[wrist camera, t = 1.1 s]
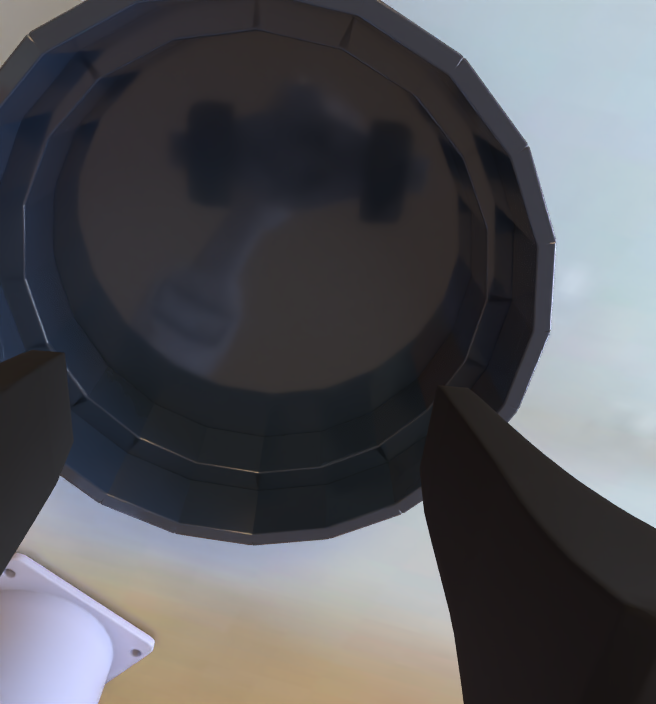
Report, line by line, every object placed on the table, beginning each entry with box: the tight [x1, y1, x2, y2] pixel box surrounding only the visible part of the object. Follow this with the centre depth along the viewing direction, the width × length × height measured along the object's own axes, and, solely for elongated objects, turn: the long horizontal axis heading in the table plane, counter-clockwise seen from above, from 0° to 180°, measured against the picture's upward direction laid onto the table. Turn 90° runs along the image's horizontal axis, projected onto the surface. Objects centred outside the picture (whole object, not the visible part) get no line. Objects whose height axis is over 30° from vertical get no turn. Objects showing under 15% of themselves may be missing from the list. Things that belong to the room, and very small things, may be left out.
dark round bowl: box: [0, 0, 556, 545], centre depth 19 cm, size 16×16×5 cm
